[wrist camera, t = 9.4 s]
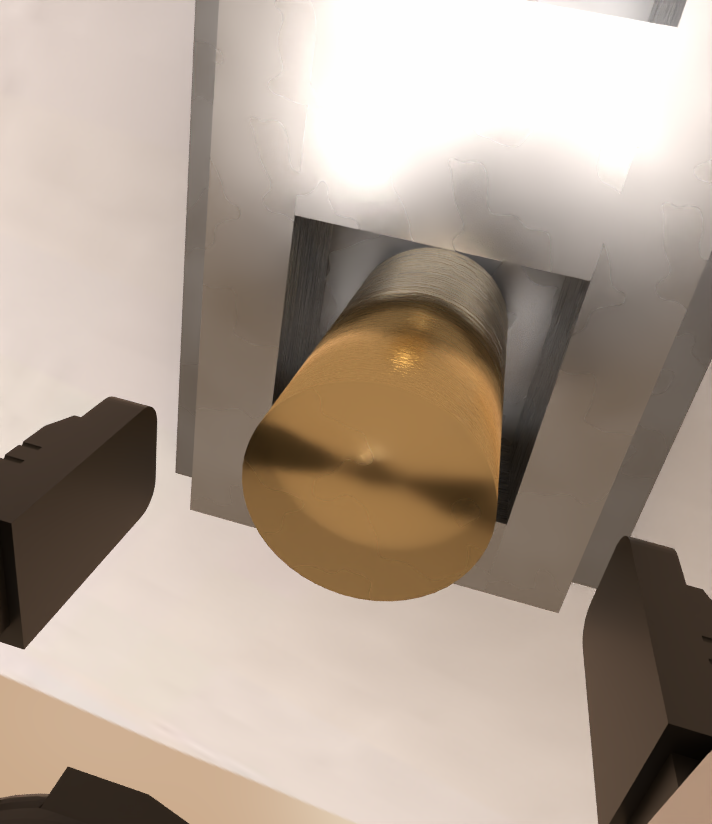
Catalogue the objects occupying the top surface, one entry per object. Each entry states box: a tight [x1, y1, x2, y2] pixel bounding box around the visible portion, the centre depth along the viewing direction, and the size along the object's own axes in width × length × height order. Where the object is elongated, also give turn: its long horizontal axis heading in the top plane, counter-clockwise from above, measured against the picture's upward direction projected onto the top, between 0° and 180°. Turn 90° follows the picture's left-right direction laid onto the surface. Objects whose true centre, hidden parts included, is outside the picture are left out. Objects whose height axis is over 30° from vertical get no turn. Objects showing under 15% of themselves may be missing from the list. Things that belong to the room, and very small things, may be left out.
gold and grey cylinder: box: [242, 247, 508, 601], centre depth 15 cm, size 4×4×9 cm
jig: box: [176, 0, 712, 613], centre depth 13 cm, size 15×26×10 cm, turn 170°
